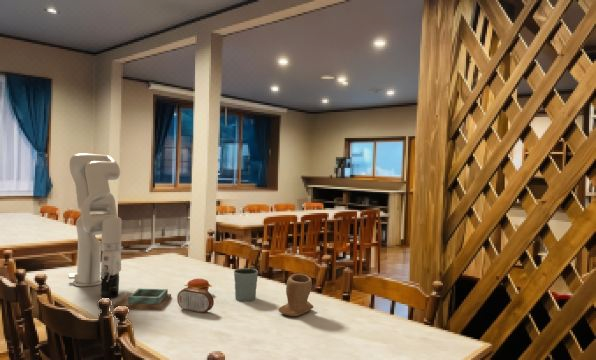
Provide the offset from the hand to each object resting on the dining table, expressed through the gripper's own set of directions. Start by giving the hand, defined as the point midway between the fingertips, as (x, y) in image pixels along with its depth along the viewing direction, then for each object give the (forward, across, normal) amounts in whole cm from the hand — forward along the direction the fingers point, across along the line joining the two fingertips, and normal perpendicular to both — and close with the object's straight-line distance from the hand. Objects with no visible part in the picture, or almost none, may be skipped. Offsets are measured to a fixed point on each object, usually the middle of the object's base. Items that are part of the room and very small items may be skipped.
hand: (110, 287), depth 179 cm
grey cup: (+4, +2, -56) cm, 56 cm away
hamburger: (+4, +7, -35) cm, 36 cm away
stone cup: (+4, -14, -78) cm, 79 cm away
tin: (+4, -15, -38) cm, 41 cm away
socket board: (+4, -7, -16) cm, 18 cm away
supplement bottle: (+4, 0, 0) cm, 4 cm away
